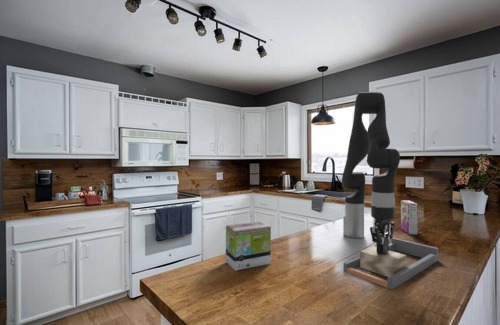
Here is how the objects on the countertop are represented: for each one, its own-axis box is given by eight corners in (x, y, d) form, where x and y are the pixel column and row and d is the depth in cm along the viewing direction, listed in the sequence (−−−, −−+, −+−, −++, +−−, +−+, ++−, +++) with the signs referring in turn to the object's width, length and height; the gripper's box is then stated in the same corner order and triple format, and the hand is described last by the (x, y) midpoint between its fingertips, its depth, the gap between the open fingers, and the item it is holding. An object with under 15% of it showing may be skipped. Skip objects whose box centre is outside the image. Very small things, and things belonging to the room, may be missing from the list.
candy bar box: (400, 228, 149) (400, 200, 149) (409, 229, 148) (410, 200, 148) (407, 234, 138) (408, 203, 138) (418, 234, 137) (418, 203, 137)
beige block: (360, 267, 96) (360, 234, 96) (372, 261, 102) (372, 230, 101) (394, 279, 87) (394, 243, 86) (406, 272, 92) (406, 238, 92)
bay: (343, 270, 94) (343, 257, 94) (393, 248, 117) (393, 237, 117) (392, 289, 81) (392, 273, 80) (437, 260, 103) (438, 247, 103)
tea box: (235, 272, 94) (235, 231, 94) (225, 262, 103) (224, 224, 102) (271, 264, 101) (271, 225, 100) (258, 255, 110) (258, 220, 109)
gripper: (381, 201, 101) (381, 245, 101) (362, 205, 92) (362, 254, 93) (402, 203, 95) (402, 251, 95) (383, 208, 86) (383, 260, 87)
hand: (382, 252), depth 94 cm, fingers closed on beige block, 3 cm apart
